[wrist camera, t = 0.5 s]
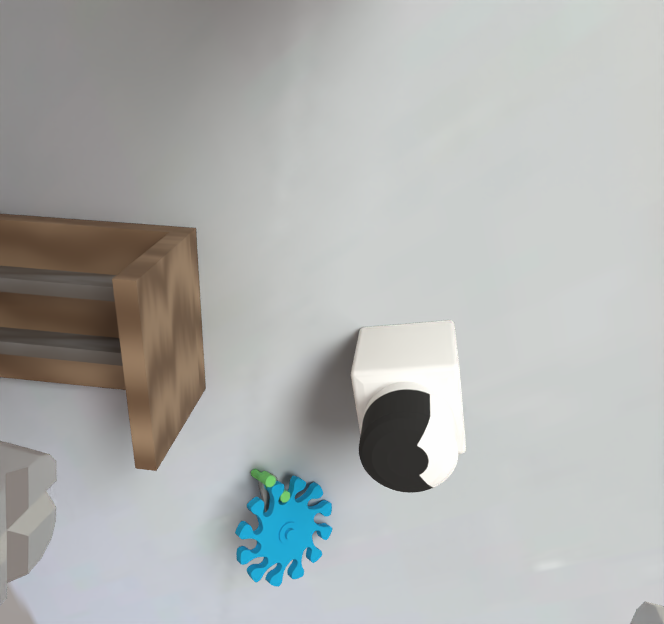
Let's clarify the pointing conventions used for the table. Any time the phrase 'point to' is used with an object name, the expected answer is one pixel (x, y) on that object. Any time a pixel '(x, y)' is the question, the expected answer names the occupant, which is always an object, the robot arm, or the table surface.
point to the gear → (282, 527)
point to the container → (409, 403)
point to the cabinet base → (106, 316)
